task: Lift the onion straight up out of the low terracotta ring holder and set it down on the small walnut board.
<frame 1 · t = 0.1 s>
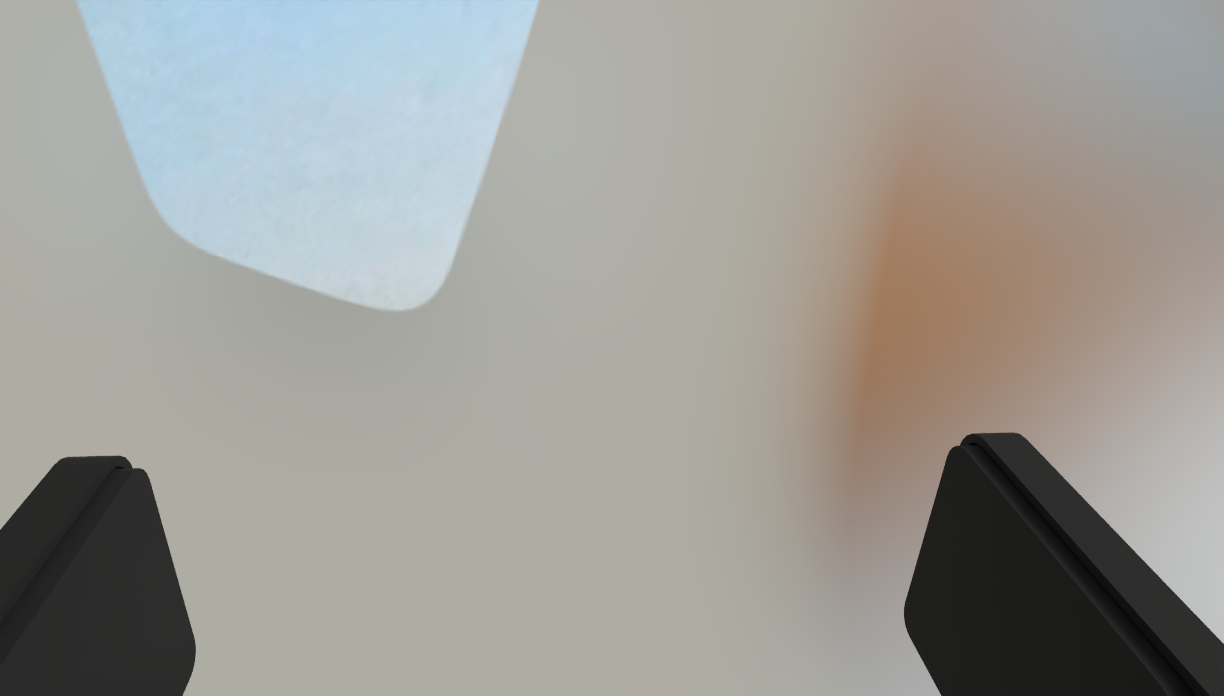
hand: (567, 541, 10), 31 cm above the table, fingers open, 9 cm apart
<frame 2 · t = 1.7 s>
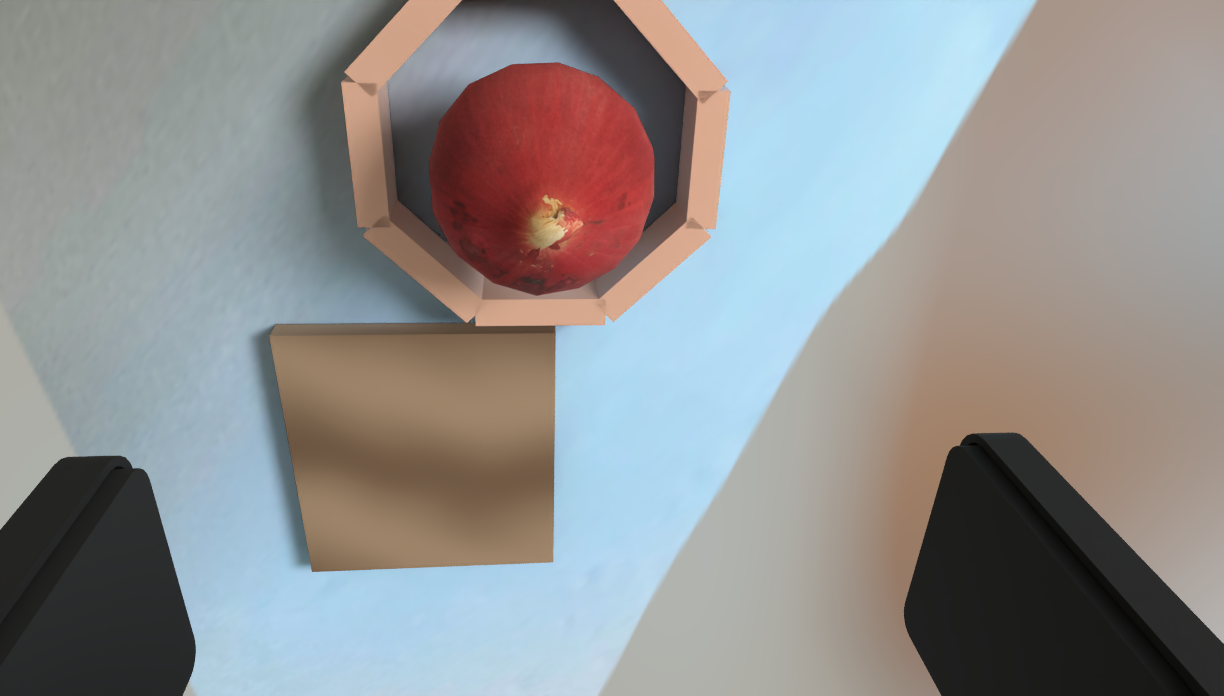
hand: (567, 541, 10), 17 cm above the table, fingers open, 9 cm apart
onion: (539, 141, 24), resting in ring holder
ring holder: (539, 143, 24), on the table
board: (427, 447, 29), on the table
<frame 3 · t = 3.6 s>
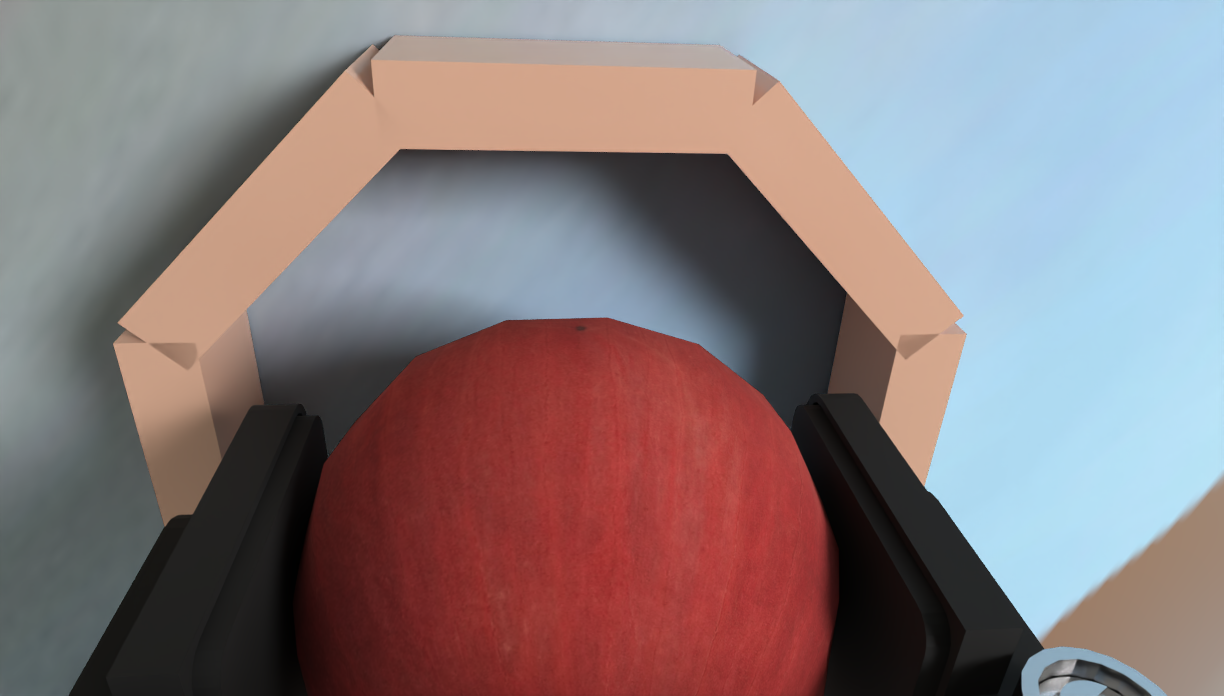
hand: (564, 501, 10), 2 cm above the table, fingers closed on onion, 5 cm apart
onion: (555, 393, 13), resting in ring holder, touching gripper
ring holder: (556, 399, 12), on the table
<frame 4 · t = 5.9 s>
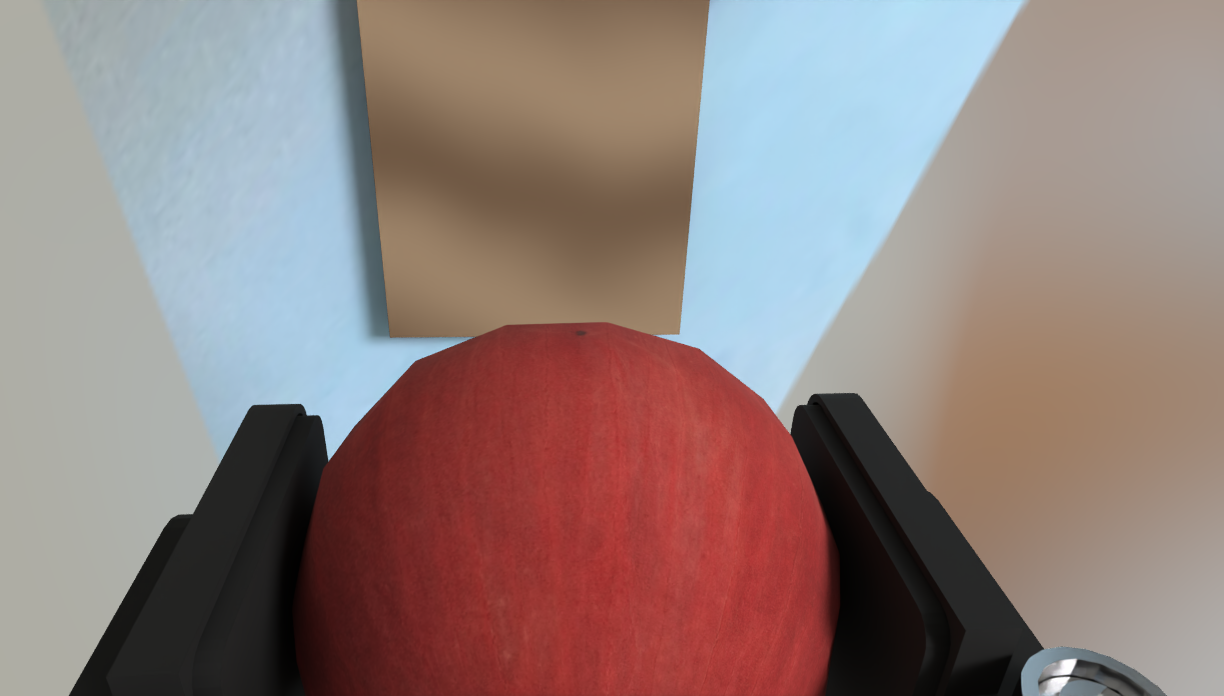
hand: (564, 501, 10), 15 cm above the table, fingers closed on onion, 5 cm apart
onion: (555, 396, 13), point 13 cm above the table, touching gripper
board: (536, 171, 24), on the table
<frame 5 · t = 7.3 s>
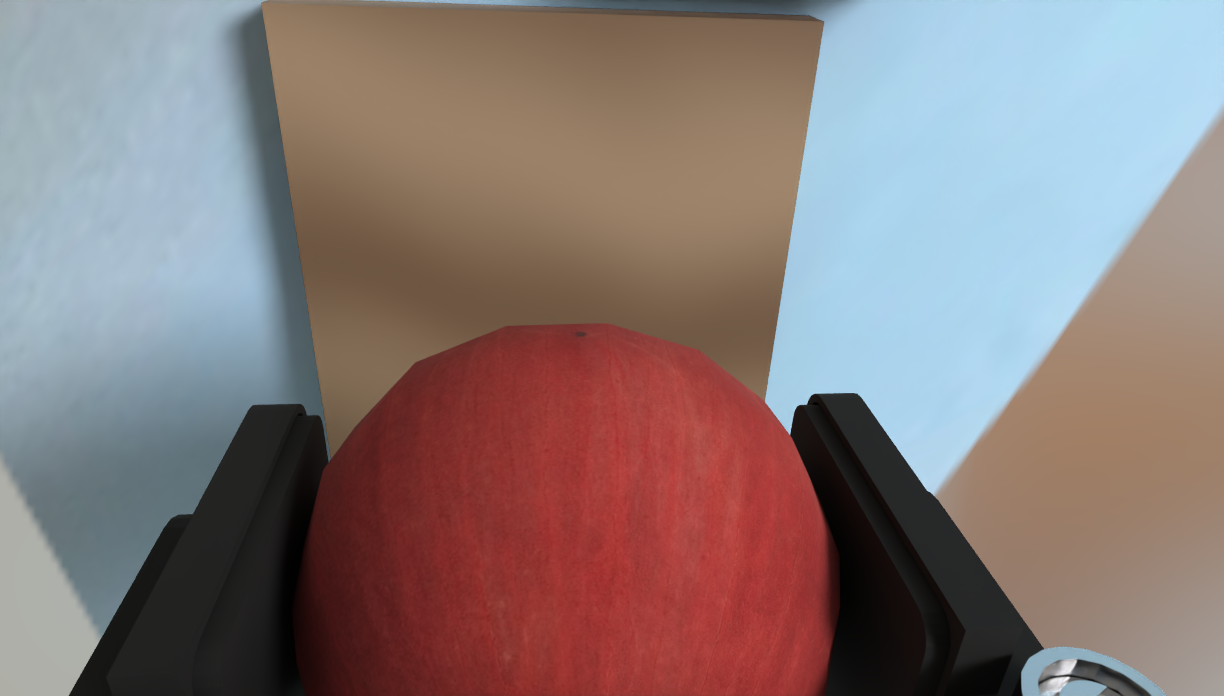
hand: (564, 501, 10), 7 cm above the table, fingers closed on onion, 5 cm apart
onion: (555, 397, 13), point 4 cm above the table, touching gripper
board: (549, 278, 16), on the table
when the fingers open (4 cm above the table, at t = 8.4 s): onion stays where it is, resting on board.
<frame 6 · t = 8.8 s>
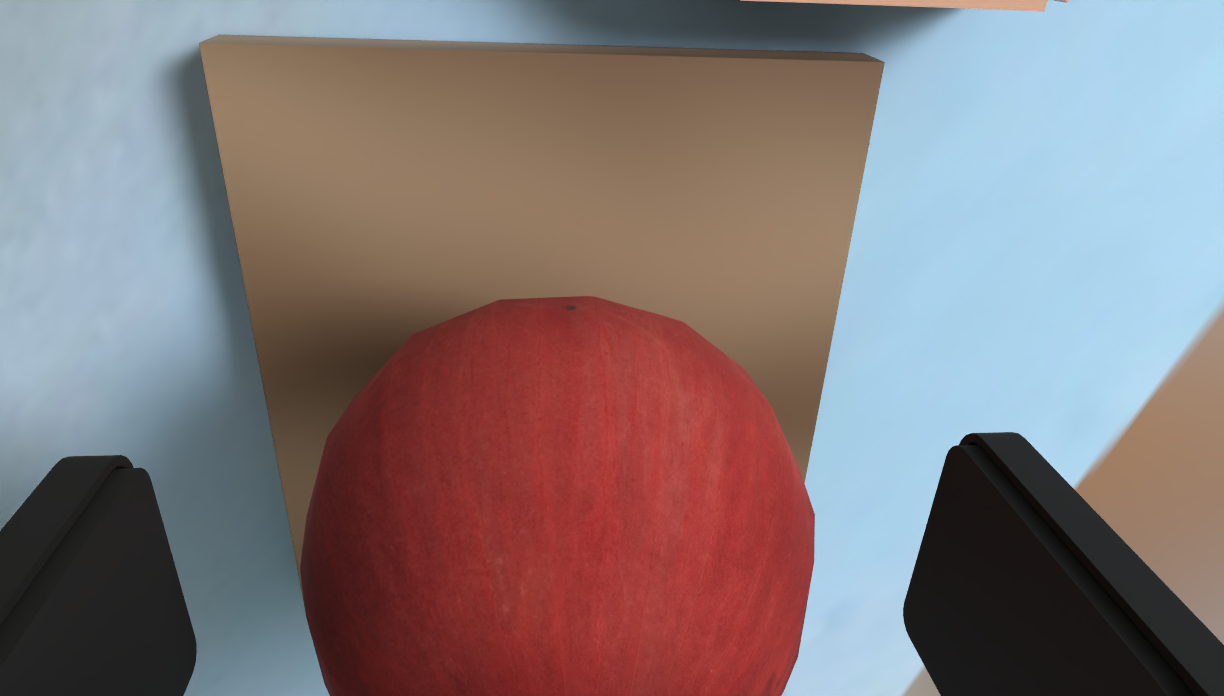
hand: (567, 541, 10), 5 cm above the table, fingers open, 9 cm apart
onion: (545, 365, 13), point 1 cm above the table, touching board
board: (552, 356, 14), on the table
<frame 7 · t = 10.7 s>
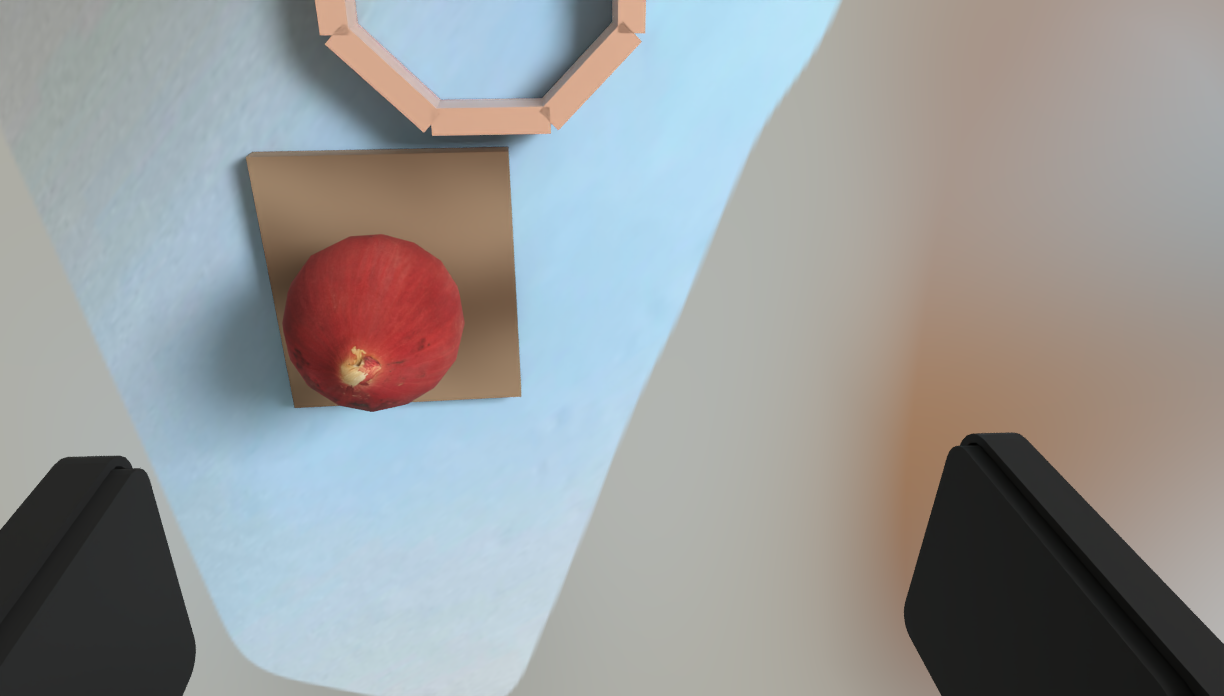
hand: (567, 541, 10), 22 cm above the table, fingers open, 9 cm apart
onion: (391, 280, 31), point 1 cm above the table, touching board
board: (398, 279, 31), on the table
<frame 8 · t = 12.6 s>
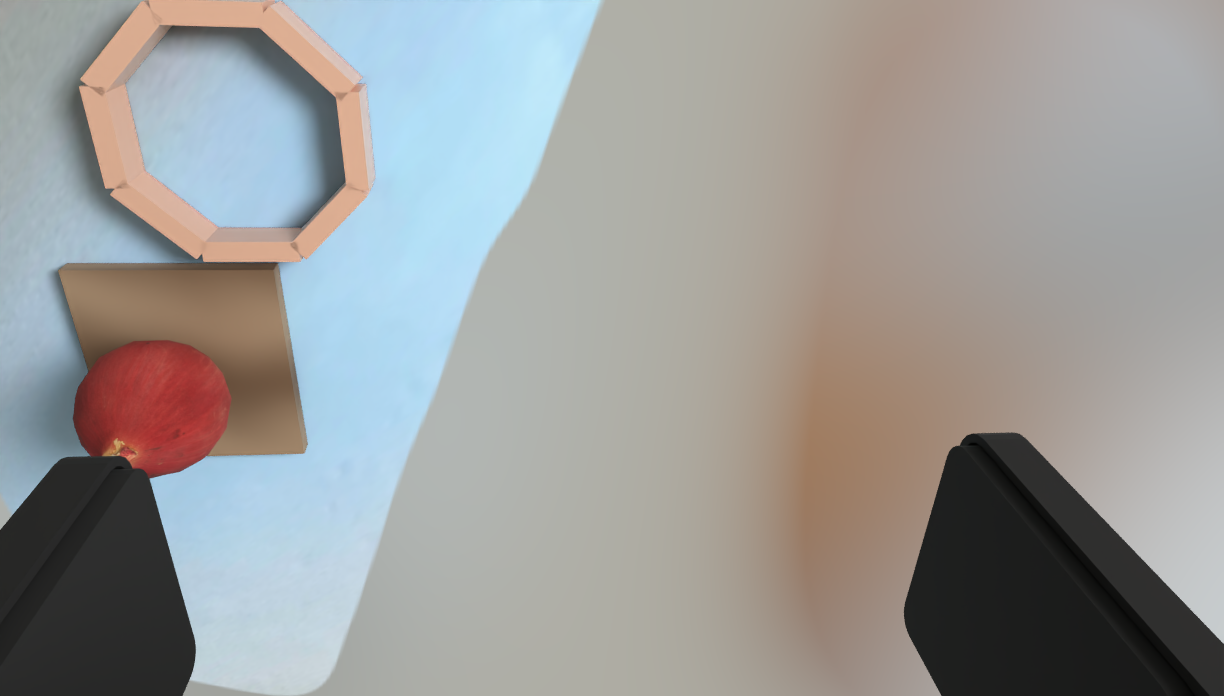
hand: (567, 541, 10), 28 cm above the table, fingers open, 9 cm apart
onion: (187, 363, 38), point 1 cm above the table, touching board
ring holder: (243, 130, 34), on the table
board: (196, 360, 39), on the table
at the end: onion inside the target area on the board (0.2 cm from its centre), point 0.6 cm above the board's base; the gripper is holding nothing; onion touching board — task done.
